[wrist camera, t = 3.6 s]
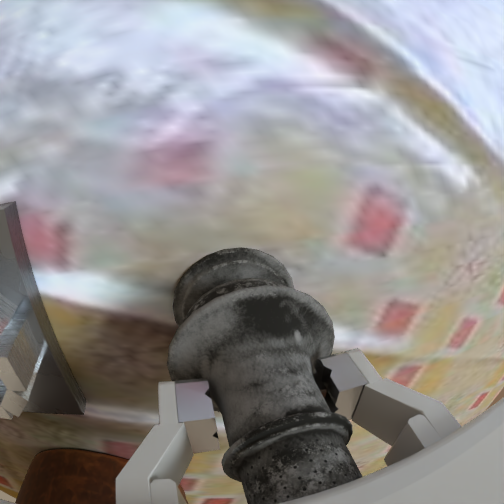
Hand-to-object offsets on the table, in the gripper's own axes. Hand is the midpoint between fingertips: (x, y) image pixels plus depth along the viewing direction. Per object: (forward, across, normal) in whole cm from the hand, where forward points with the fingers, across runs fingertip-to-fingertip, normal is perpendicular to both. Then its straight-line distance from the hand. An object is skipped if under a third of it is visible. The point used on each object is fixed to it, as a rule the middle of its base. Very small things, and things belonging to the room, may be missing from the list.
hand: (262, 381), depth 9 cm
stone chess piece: (+5, 0, 0) cm, 5 cm away
